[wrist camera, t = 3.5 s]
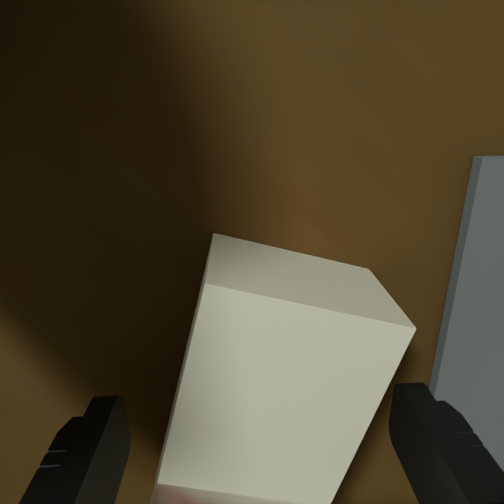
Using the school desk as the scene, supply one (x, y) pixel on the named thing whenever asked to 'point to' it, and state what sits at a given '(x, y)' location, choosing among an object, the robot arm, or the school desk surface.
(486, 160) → the mat
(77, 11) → the school desk surface
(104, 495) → the robot arm
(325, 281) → the white rectangular block
